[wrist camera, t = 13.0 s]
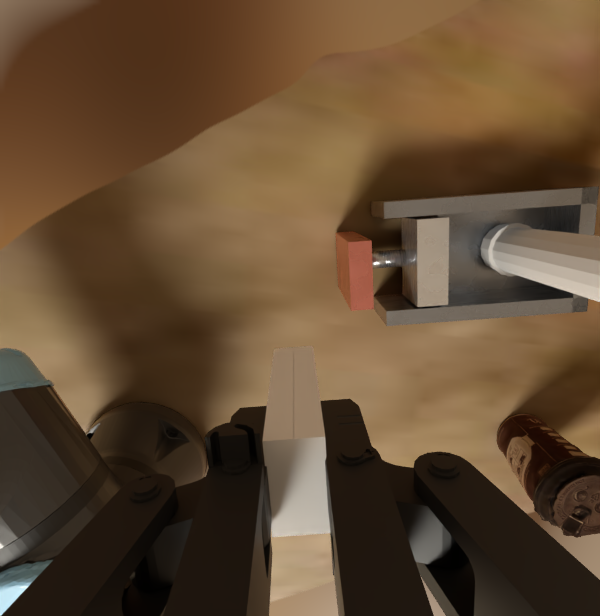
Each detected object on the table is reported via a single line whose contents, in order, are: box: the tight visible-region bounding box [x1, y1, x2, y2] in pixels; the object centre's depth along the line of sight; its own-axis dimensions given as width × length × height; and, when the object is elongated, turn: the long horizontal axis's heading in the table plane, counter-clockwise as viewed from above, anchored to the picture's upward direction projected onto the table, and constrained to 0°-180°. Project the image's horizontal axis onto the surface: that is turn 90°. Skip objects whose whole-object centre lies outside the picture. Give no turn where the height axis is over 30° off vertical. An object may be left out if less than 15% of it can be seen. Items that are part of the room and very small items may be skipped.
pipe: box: [481, 223, 600, 302], centre depth 33 cm, size 6×6×30 cm
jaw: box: [336, 215, 449, 311], centre depth 43 cm, size 10×8×11 cm
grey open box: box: [371, 187, 599, 326], centre depth 45 cm, size 20×12×7 cm, turn 94°
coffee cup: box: [497, 414, 600, 537], centre depth 48 cm, size 9×8×13 cm
